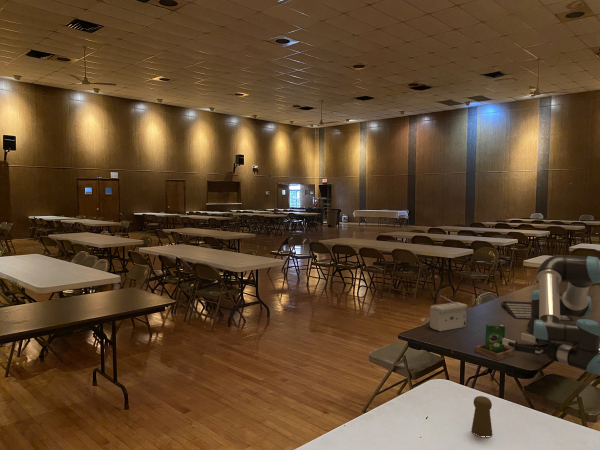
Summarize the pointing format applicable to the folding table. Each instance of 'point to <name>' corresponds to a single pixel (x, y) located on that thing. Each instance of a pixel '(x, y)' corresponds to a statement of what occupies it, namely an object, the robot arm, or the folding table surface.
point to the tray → (496, 356)
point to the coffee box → (494, 338)
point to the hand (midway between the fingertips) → (512, 338)
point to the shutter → (524, 310)
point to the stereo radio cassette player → (448, 316)
